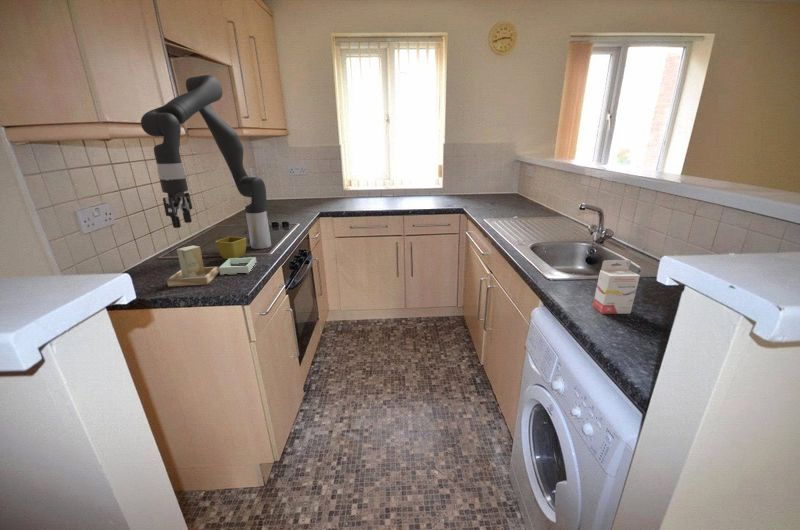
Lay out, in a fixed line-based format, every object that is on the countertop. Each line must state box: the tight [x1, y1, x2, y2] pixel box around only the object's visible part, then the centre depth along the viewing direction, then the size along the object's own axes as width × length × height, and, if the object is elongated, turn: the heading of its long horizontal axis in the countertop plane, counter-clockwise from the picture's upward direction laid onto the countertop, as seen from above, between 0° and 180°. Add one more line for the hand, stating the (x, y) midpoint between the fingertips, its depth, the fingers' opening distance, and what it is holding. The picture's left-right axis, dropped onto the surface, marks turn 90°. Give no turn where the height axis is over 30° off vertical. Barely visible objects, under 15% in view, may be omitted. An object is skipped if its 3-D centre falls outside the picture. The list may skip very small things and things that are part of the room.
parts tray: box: [218, 256, 257, 276], centre depth 136 cm, size 12×11×3 cm
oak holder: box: [166, 266, 220, 287], centre depth 126 cm, size 12×13×2 cm
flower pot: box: [214, 236, 247, 260], centre depth 147 cm, size 9×9×9 cm
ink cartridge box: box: [592, 259, 641, 315], centre depth 96 cm, size 9×5×15 cm, turn 92°
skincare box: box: [176, 245, 206, 278], centre depth 125 cm, size 6×4×12 cm
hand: (183, 225), depth 120 cm, fingers open, 8 cm apart
